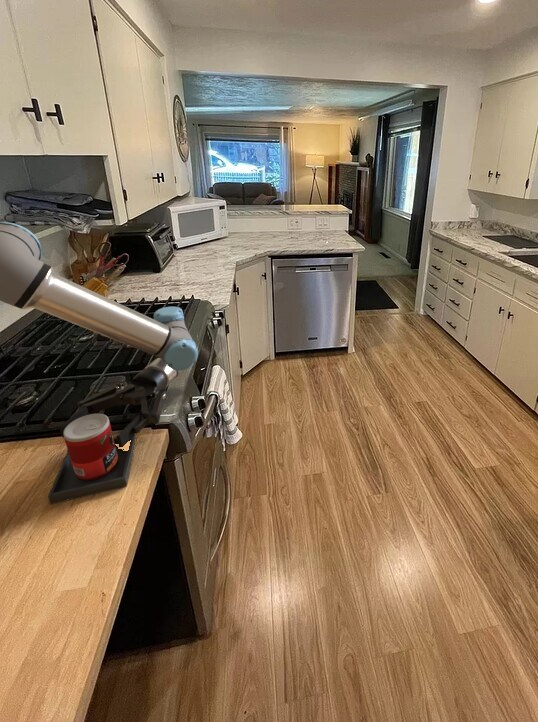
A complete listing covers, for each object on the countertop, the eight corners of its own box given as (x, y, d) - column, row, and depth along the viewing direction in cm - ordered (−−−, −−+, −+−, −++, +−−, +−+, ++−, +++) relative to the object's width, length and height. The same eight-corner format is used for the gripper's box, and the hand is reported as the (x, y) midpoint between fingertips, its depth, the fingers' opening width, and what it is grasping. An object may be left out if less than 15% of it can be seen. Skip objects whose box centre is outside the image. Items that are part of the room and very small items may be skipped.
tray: (50, 504, 69) (47, 496, 68) (71, 453, 80) (69, 446, 80) (126, 486, 73) (125, 478, 72) (136, 440, 84) (135, 433, 84)
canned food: (116, 475, 74) (105, 433, 71) (71, 487, 72) (57, 444, 68) (121, 449, 81) (111, 409, 77) (80, 459, 78) (68, 418, 74)
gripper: (199, 396, 93) (147, 460, 73) (115, 385, 97) (44, 442, 77) (196, 372, 90) (141, 430, 70) (109, 361, 94) (34, 414, 75)
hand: (90, 437), depth 74 cm, fingers open, 13 cm apart
